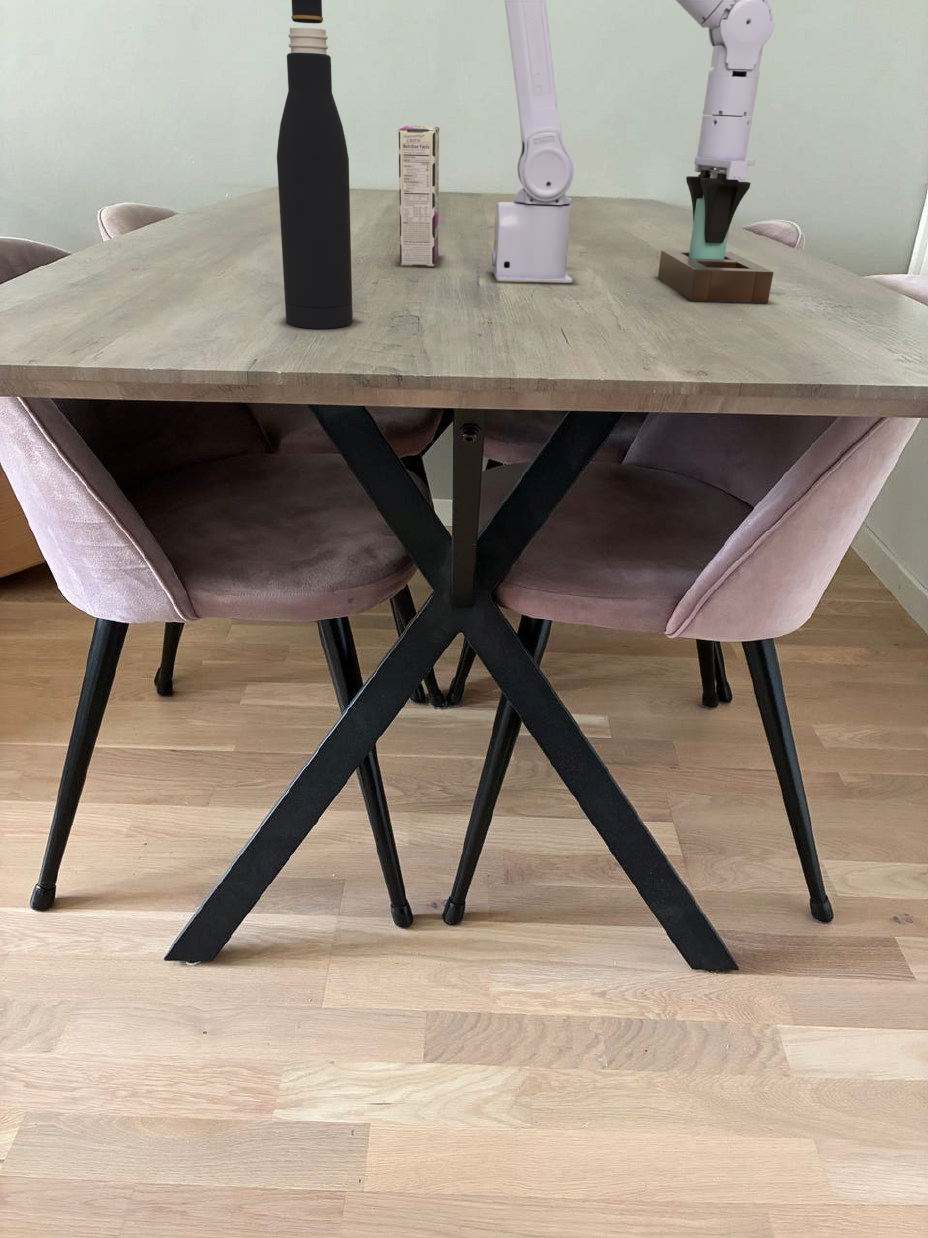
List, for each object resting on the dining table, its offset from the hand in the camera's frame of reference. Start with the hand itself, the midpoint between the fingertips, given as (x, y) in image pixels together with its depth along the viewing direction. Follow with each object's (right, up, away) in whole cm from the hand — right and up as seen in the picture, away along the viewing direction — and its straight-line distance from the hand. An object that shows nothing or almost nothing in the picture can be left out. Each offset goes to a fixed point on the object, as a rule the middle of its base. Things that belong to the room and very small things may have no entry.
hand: (708, 240), depth 115 cm
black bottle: (-45, -19, -25) cm, 54 cm away
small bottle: (0, -2, +1) cm, 2 cm away
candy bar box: (-37, +2, +12) cm, 39 cm away
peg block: (0, -6, -1) cm, 6 cm away
